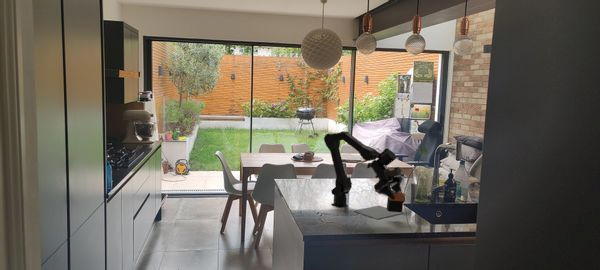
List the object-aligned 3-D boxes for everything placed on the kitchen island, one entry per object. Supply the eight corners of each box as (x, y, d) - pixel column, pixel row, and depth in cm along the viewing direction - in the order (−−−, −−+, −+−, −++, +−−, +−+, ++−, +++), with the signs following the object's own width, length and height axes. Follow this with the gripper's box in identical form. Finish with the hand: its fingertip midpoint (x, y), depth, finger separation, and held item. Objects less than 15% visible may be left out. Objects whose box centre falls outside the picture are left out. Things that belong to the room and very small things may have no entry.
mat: (353, 211, 220) (353, 210, 220) (378, 206, 233) (378, 205, 232) (377, 219, 208) (377, 218, 208) (403, 213, 220) (403, 212, 220)
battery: (386, 209, 211) (388, 189, 209) (400, 209, 211) (402, 190, 209) (388, 211, 206) (390, 191, 205) (402, 212, 206) (404, 192, 205)
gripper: (382, 163, 201) (400, 192, 195) (401, 159, 215) (419, 186, 209) (366, 176, 207) (383, 204, 201) (386, 172, 221) (403, 198, 215)
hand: (398, 197), depth 207 cm, fingers closed on battery, 7 cm apart
